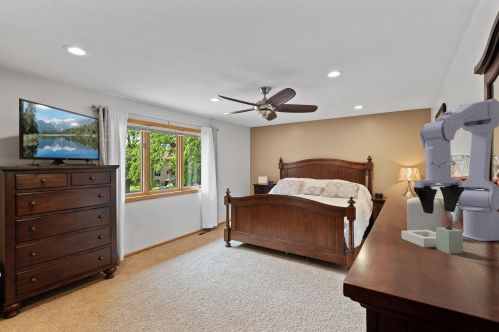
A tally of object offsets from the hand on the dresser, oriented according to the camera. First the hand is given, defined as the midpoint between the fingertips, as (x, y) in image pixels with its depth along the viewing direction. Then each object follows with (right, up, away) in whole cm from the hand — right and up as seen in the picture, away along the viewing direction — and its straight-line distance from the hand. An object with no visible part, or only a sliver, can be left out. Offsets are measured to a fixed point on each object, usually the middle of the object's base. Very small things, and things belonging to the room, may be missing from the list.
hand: (439, 212), depth 69 cm
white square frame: (+1, -10, +6) cm, 12 cm away
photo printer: (+8, -11, +17) cm, 22 cm away
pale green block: (+1, -10, -2) cm, 11 cm away
